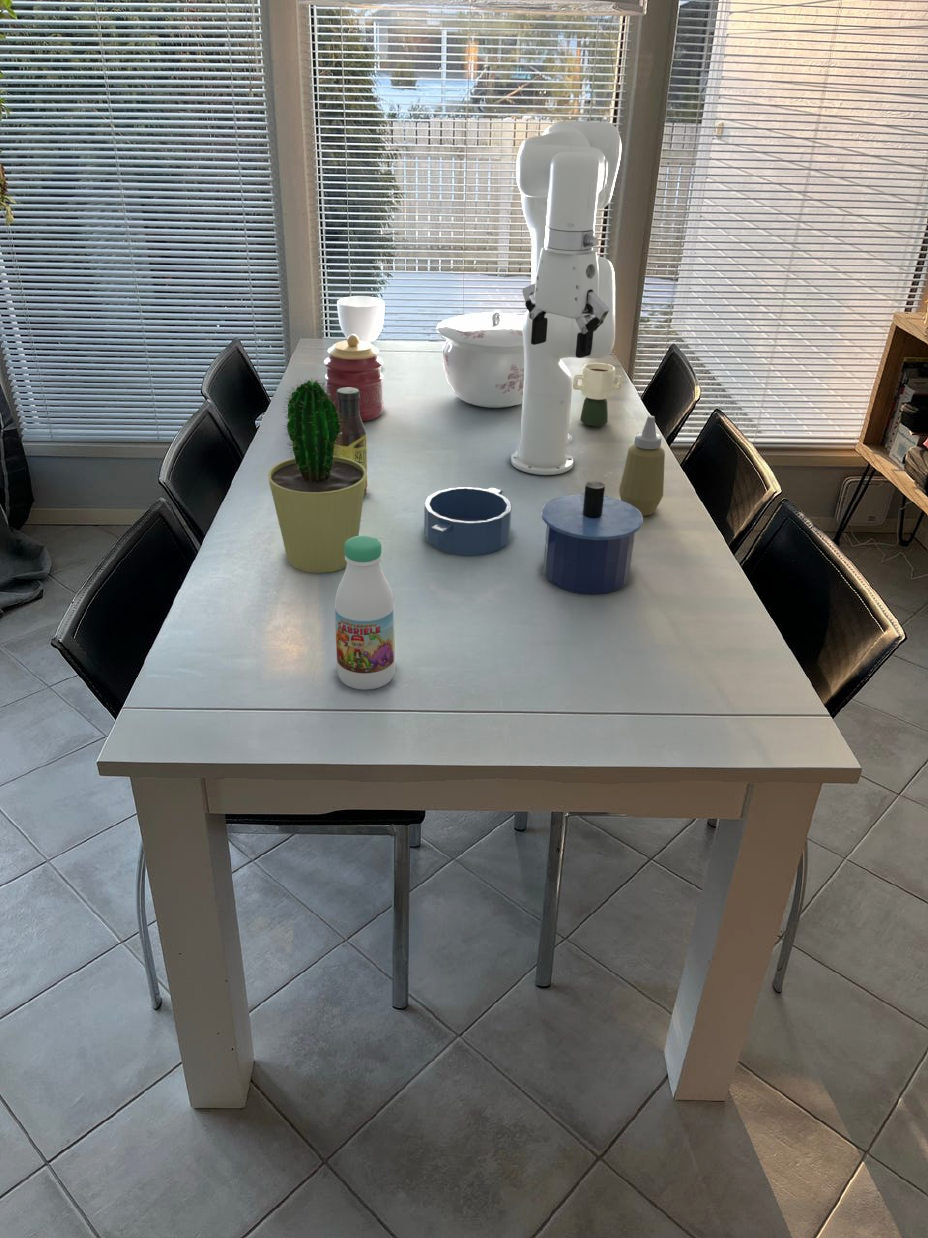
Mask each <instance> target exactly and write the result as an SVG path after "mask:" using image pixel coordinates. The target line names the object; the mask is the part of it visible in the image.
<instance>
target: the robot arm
mask: <svg viewBox="0 0 928 1238" xmlns="http://www.w3.org/2000/svg"><path fill="white" fill-rule="evenodd" d="M518 149H519V150H518V153H517V158H516V165H515V166H516V169H515V170H516V171H515V172H516V184H517V187H518V189H519V191H520V197H521V208H522V212H523V216H524V220H525V222H526V226H527V228H528V232H529V234H530V238H531V245H532V246H531V273H530V274H531V276H530V277H531V278H530V281H531V284H530V285H528V286H525V287H524V288H522V289H521V290H522V291H521V292H522V295H523V299H524V302H525V303H524V306H525V309H526V310H527V311H526V312H525V313H524V315H523V316H524V318H523V325H522V333H523V345H524V385H523V401H522V403H521V420H520V435H519V449H518V450H516V451H515V452H513V453H512V454H511V458H510V462H511V465H512V466H513V467H514V468H516V469H517V470H519V471H521V472H524V473H527V474H530V475H531V474H533V475H537V476H538V475H539V476H553V475H560V474H564V473H566V472H569V471H570V470H571V469H572V468H573V467H574V459H573V456H571V455H570V454H569V453H567V451H568V445H569V444H571V443H572V441H573V436H572V435H571V434H569V429H570V418H571V417H570V416H571V407H572V406H571V405H572V395H573V377H572V374H571V372H570V370H569V369H568V367H567V366H566V365H565V363H564V362H563V361H562V359H568V358H572V359H602V358H605V357H608V356H609V355H610V354H611V353H612V351H613V349H614V345H615V341H616V275H615V269H614V266H613V264H612V262H611V261H610V260H609V259H607V257H603V256H599V255H598V253H597V251H594V250H593V249H594V247H596V246H597V245H598V244H599V238H598V237H597V236H596V237H595V228H596V226H595V225H596V219H597V218H596V217H597V215H596V214H597V211H600V210H602V209H603V210H604V208H606V207H607V206H608V205H609V204H610V202H611V200H612V197H613V192H614V188H615V184H616V179H617V175H618V171H619V167H620V162H621V158H622V157H621V156H622V140H621V135H620V132H619V130H618V128H617V127H616V126H615V125H614V124H613V123H611V122H607V121H591V120H590V121H589V120H587V121H586V120H584V121H583V120H559V121H556V122H554V123H551V124H550V125H549V126H547V128H545V130H544V131H543V133H542V134H541V135H536V136H531V137H528V138H526V139H525V140H523V141H522V143H521V145H520V147H519V148H518Z"/></svg>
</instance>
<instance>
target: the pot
mask: <svg viewBox="0 0 928 1238" xmlns="http://www.w3.org/2000/svg"><path fill="white" fill-rule="evenodd" d="M635 534H636V533H634V534H632V535H630V536H627V537H624V538H619V539H613V540H588V539H581V538H576V537H571V536H568V535H565V534H562V533H560V532H558V531H555V530H554V529H552V528H550V527H549V526H548V525H547V524H546V531H545V542H544V553H543V567H542V568H543V574H544V577H545V578H546V579H547V581H548V582H549V583H550V584H552V585H554V586H555V587H557V588H559V589H561V590H564V591H568V592H571V593H575V594H582V595H604V594H609V593H613V592H617V591H618V590H621V589H622V588H624V587H625V586H626V585H627V583H628V582H629V578H630V573H631V565H632V558H633V549H634V541H635Z"/></svg>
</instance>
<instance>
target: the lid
mask: <svg viewBox="0 0 928 1238" xmlns="http://www.w3.org/2000/svg"><path fill="white" fill-rule="evenodd" d="M605 490H606V484H605V483H603V482H602V481H598V480H597V481H596V480H590V481H587V482H586V483H585V485H584V493H574V494H573V493H572V494H567V495H562V496H558V497H554V498H552V499H550V500H549V501H547V502H546V503H545V504H544V505H543V506H542V509H541V518H542V521H543V522H544V524H546V526H547V525H548V526H549V527H550V528H552V529H554V530H555V531H558V532H560V533H562V534H565V535H568V536H571V537H576V538H581V539H588V540H613V539H619V538H624V537H627V536H630V535H632V534H634V533H635V534H637V532H639V530H640V529H641V528H642V526H643V521H644V516H642V514H641V513H640V511H639V510H638V509H637V508H635V507H634V506H632V505H631V504H629V503H627V502H624V501H622V500H621V499H619V498H615V497H612V496H608V495H605Z"/></svg>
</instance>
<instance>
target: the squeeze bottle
mask: <svg viewBox="0 0 928 1238" xmlns="http://www.w3.org/2000/svg"><path fill="white" fill-rule="evenodd" d="M656 428H657V427H656V418H655V416H654V415H652V414H651V415H648V416H647V417H646V420H645V423H644V425H643V429H642V432H637V433H636V434H635V436H634V444H631V446H629V447H628V449H627V454H626V457H625V462H624V467H623V471H622V475H621V480H620V483H619V487H618V488H619V489H618V493H619V497H620V500H622V501H624V502H627V503H629V504H631V505H632V506H634V507H635V508H637V509H638V510H639V511H640V513H641V514H642V517H646V516H647V517H648V516H651V515H653V514H654V513H655V512H656V510H657V508H658V506H659V504H660V502H661V500H662V498H663V497H664V484H665V483H664V482H665V460H666V459H665V457H666V455H665V454H666V451H665V449H664V448H663V447H662V436H661V435H660V434H658V433H657V429H656Z"/></svg>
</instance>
